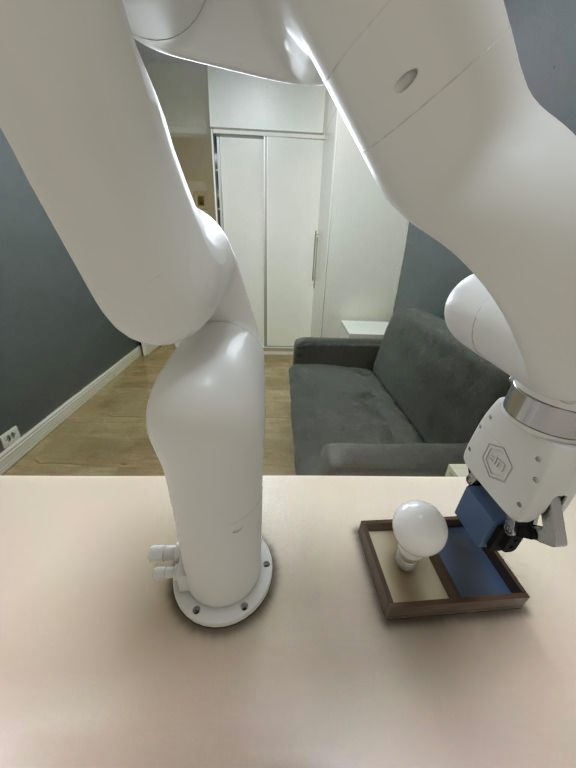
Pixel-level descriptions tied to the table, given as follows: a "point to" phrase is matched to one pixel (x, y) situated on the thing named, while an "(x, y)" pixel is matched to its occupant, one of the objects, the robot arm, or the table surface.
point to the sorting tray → (439, 575)
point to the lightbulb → (418, 532)
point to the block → (479, 514)
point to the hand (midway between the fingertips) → (484, 525)
